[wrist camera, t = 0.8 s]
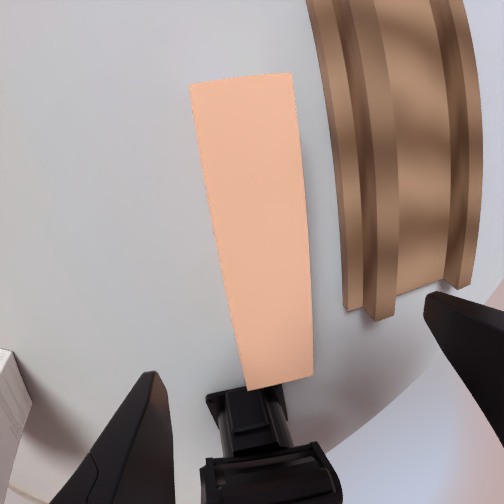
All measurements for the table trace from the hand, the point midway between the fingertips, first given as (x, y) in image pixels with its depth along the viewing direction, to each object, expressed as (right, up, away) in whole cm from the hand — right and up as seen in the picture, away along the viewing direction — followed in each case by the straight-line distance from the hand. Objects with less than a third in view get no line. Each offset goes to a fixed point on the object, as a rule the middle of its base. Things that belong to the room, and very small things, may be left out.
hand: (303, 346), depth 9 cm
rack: (+9, +10, +10) cm, 17 cm away
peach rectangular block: (-2, +5, +10) cm, 12 cm away
